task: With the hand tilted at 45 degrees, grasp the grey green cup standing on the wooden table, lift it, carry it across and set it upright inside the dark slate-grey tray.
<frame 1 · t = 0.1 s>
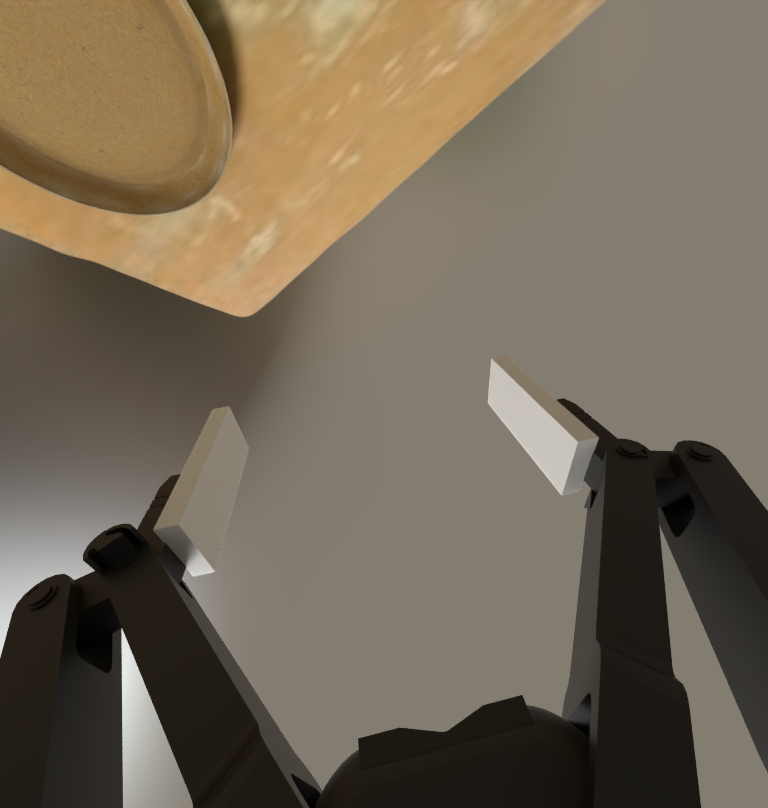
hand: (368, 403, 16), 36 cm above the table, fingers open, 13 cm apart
plant saucer: (77, 63, 28), on the table
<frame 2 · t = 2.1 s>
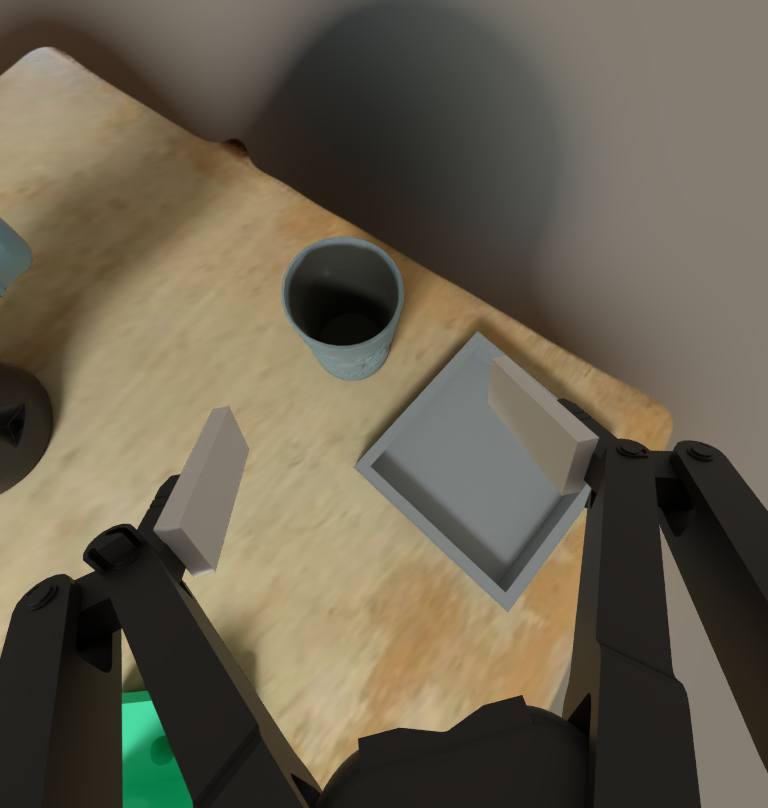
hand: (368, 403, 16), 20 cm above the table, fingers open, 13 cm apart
tray: (481, 460, 36), on the table
grey green cup: (351, 345, 38), on the table
camera mount: (182, 724, 30), on the table
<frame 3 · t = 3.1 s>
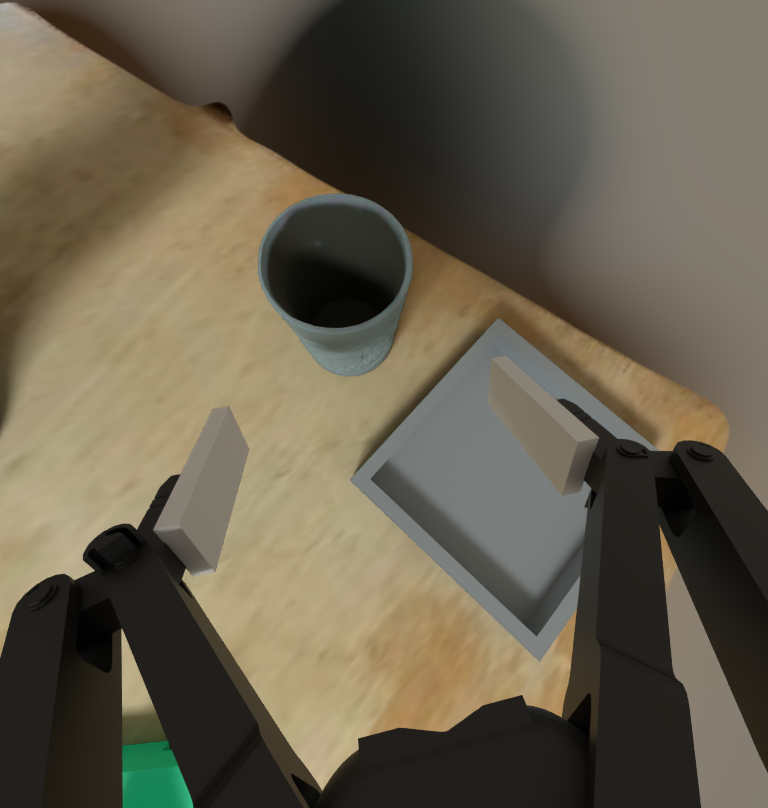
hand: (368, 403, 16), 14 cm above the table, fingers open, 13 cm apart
tray: (502, 471, 30), on the table
grey green cup: (348, 335, 32), on the table
camera mount: (137, 798, 25), on the table
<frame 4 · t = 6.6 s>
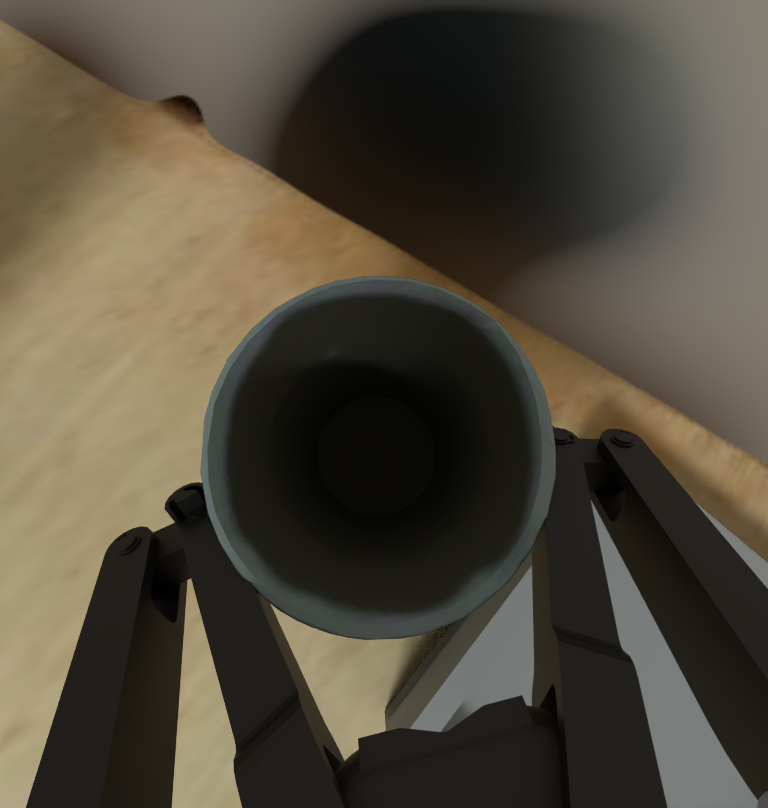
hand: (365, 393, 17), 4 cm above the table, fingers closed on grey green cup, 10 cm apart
tray: (629, 692, 18), on the table
grey green cup: (375, 453, 21), on the table, touching gripper
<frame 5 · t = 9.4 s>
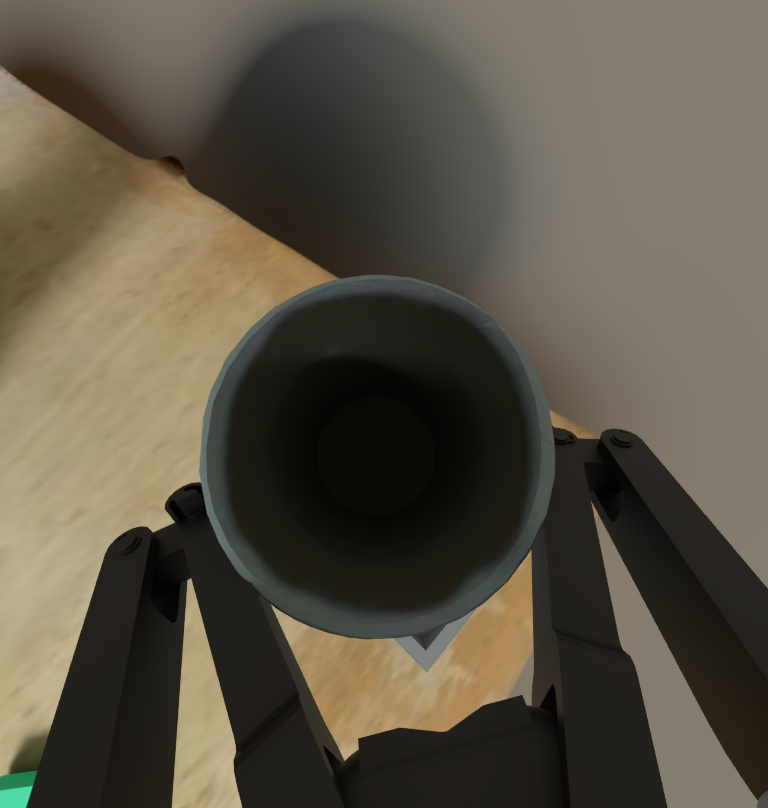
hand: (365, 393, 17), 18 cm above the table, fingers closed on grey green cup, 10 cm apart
tray: (414, 502, 34), on the table
grey green cup: (375, 453, 21), point 14 cm above the table, touching gripper
camera mount: (76, 803, 28), on the table
when the fingers open (7 cm above the table, at t = 12.4 s): grey green cup drops 1 cm, resting on tray.
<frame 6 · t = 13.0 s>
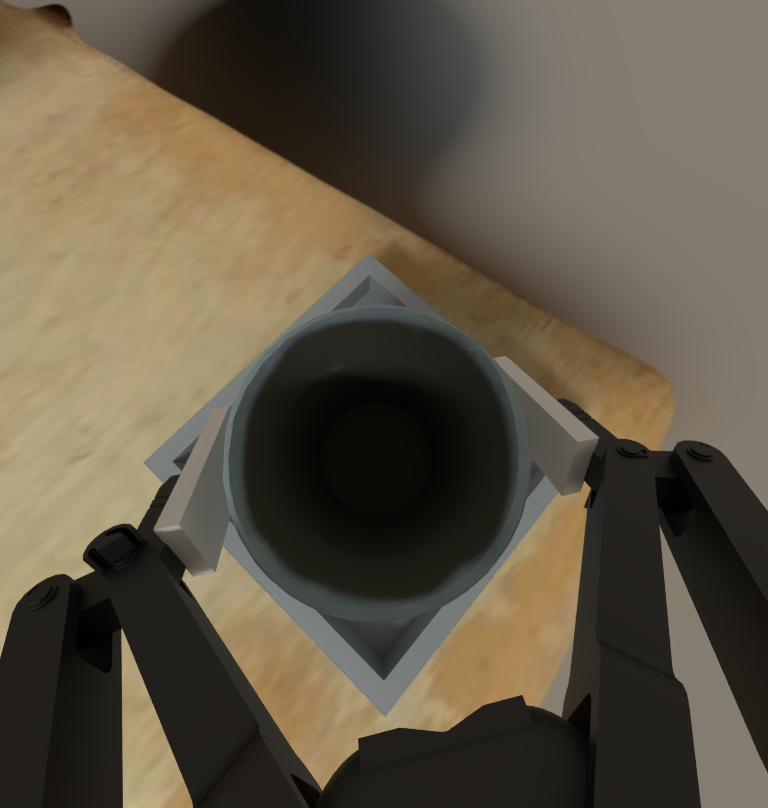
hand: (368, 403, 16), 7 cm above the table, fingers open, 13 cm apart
tray: (375, 455, 23), on the table
grey green cup: (375, 456, 22), point 1 cm above the table, touching tray
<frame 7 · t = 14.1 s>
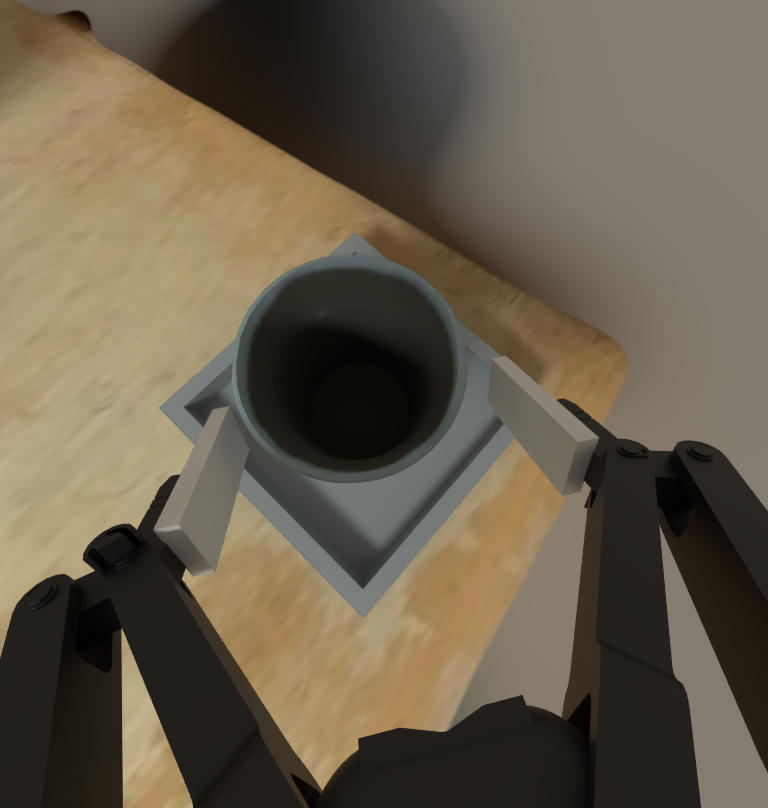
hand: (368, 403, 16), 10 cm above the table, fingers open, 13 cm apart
tray: (360, 409, 26), on the table
grey green cup: (360, 409, 25), point 1 cm above the table, touching tray
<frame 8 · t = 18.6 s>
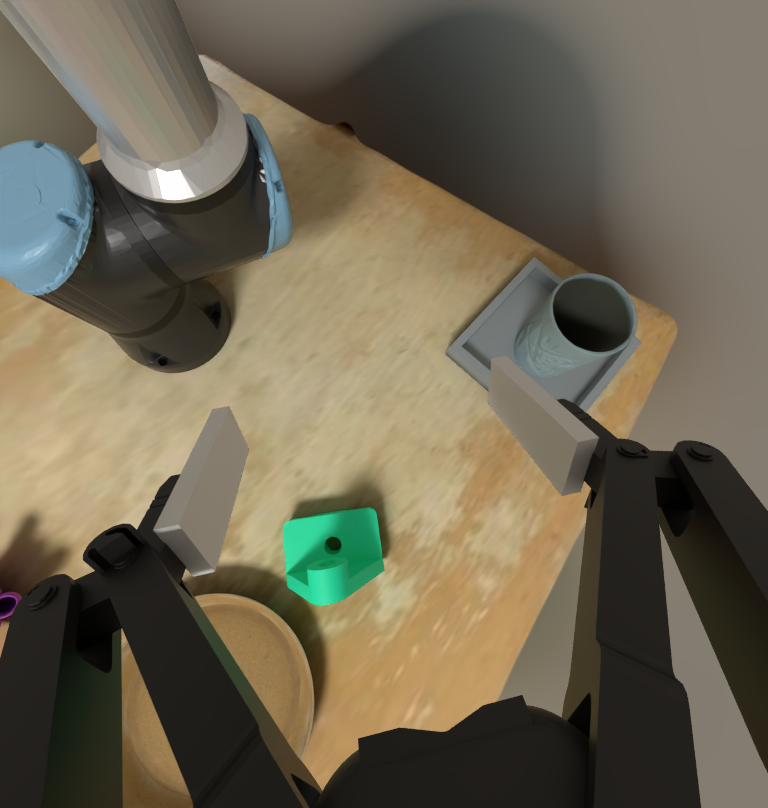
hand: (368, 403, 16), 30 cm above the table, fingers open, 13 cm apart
tray: (536, 351, 49), on the table
grey green cup: (539, 350, 48), point 1 cm above the table, touching tray
plant saucer: (219, 690, 39), on the table
camera mount: (335, 540, 43), on the table
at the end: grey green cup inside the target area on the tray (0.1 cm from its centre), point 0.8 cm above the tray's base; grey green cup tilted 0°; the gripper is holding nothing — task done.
